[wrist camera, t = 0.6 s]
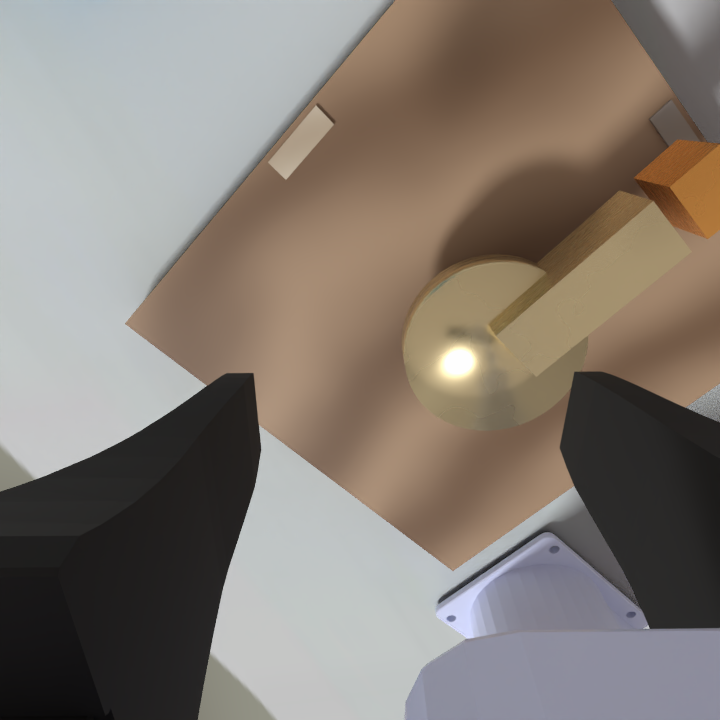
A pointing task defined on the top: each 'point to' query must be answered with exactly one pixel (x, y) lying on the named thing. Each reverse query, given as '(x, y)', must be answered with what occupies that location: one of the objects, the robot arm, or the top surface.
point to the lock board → (437, 251)
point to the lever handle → (552, 298)
